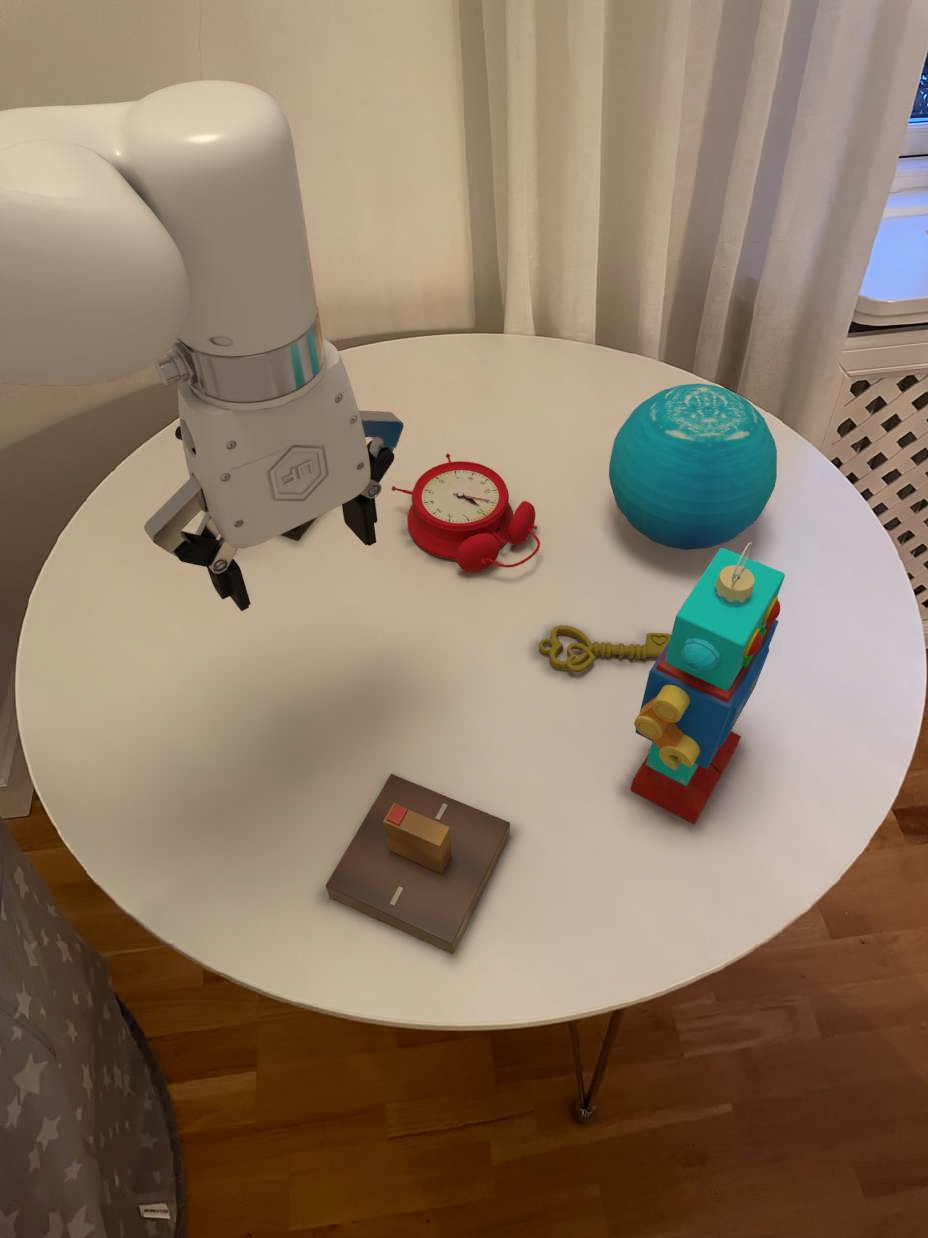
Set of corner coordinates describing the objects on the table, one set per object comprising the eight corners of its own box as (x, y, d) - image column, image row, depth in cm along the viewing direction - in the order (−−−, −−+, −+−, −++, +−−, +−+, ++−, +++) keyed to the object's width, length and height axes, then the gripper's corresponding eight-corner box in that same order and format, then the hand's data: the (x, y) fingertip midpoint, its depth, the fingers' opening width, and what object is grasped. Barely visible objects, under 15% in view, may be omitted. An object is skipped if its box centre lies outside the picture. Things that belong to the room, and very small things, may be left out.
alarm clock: (455, 439, 94) (563, 486, 85) (465, 491, 98) (569, 541, 89) (375, 488, 90) (479, 543, 80) (389, 540, 94) (490, 598, 84)
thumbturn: (451, 855, 67) (450, 825, 64) (442, 874, 66) (439, 844, 63) (398, 832, 69) (393, 800, 65) (387, 850, 68) (382, 819, 64)
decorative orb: (603, 580, 87) (622, 456, 75) (598, 472, 96) (614, 347, 85) (767, 586, 86) (811, 461, 74) (745, 477, 96) (782, 351, 84)
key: (676, 628, 81) (679, 675, 78) (674, 637, 82) (677, 684, 79) (540, 621, 82) (537, 667, 79) (539, 630, 83) (537, 675, 80)
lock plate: (453, 955, 65) (452, 943, 63) (328, 897, 68) (324, 884, 66) (509, 834, 71) (510, 821, 69) (393, 786, 73) (391, 772, 72)
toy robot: (685, 842, 70) (763, 635, 51) (612, 803, 72) (661, 590, 53) (744, 732, 76) (834, 510, 57) (676, 699, 78) (740, 474, 59)
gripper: (129, 446, 45) (208, 660, 58) (425, 321, 51) (436, 541, 64) (71, 371, 49) (158, 588, 62) (353, 264, 55) (377, 482, 68)
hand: (300, 564), depth 63 cm, fingers open, 9 cm apart
